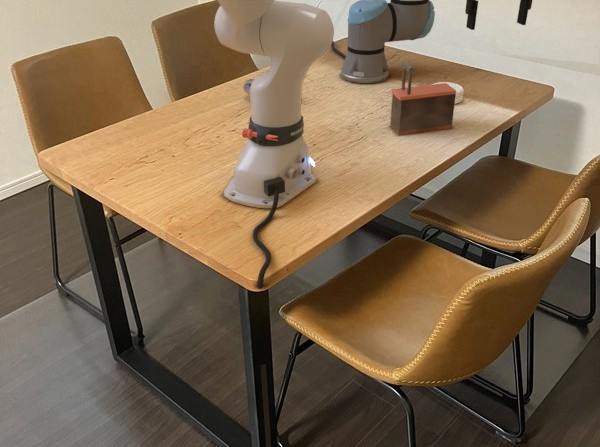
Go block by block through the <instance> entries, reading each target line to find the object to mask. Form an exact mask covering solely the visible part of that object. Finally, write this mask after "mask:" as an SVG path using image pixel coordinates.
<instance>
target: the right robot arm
mask: <svg viewBox="0 0 600 447" xmlns="http://www.w3.org/2000/svg"><path fill="white" fill-rule="evenodd" d="M532 6H533V0H520V1H519V7H518V13H517V18H516V24H519V25H521V26H526V25H527V19H528V13H529V11H530V10H531V9H532ZM478 7H479V0H466V3H465V11H464V12H465V15H467V18H466V28H467V29H468V30H471V31H475V29H476V24H477V22H476V21H477V15H478ZM434 9H435V6H434V3H433V2H432V1H431V0H390V1H389V2H388V1H387V0H357V1H355V2H353V3H352V4H351V5H350V7H349V8H348V17H347V52H346V54H344V53H343V52H341V51H340V50H338V49H337V48H336V47H335V41H334V40H333V42H332V45H331V49H332V50H333V51H334V52H335V53H336V54H337V55H339V56H340V57H342V58H343V59H344V61H343V64H342V66H341V72H340V76H341V78H342V79H343V80H345V81H347V82H350V83H354V84H355V83H356V84H363V85H364V84H367V85H368V84H378V83H381V82H384V81H387V80H388V78H389V76H390V74H389V73H390V70H389V66H388V62H387V58H386V54H385V45H386V43H393V42H401V41H403V42H404V41H414V40H418V39H423V38H426V36H427V35H428V34H430V33H431V31H432V28H433V26H434V23H435V17H436V16H435V14H436V12H435V10H434Z"/></svg>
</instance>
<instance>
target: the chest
mask: <svg viewBox="0 0 600 447" xmlns="http://www.w3.org/2000/svg"><path fill="white" fill-rule="evenodd" d="M391 94H392V93H391ZM455 96H456V94H450V95H442V96H433V97H425V98H416V99H408V100H399V99H398V98H397V97H396V96H395V95H393V94H392V95H391V112H390V125H389V127H390V128H391V129H392V130H393V131H394V132H395V133H396V134H397V135H398V136H403V135H411V134H419V133H420V134H421V133H426V132H427V133H428V132H433V131H434V132H435V131H440V130H441V131H442V130H447V129H448V130H450V129H452V128H453V119H454V111H455V105H456V104H455Z"/></svg>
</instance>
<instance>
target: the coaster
mask: <svg viewBox="0 0 600 447" xmlns="http://www.w3.org/2000/svg"><path fill="white" fill-rule="evenodd" d="M443 83H446V84H448V85H449V86H450V87H452V88H453V89H455V90H456V96H455V104H454V105H456V104H459V103H461V102H462V101H463V99H464V91H465V88H464V87H463V86H462V85H460V84H458V83H455V82H449V81H440V82H439V81H438V82H435V83H432V84H431V85H434V84H443Z"/></svg>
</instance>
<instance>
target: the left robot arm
mask: <svg viewBox="0 0 600 447" xmlns="http://www.w3.org/2000/svg"><path fill="white" fill-rule="evenodd" d="M216 2H217V3H218V4H219V5H220V6H218V8H217V11H216V13H215V16H214V21H213V23H214V24H213V25H214V26H213V28H214V32H215V36H216V38H217V40H218V42H219V44H221V46H223V47H225V48H228V49H231V50H233V51H236V52H239V53H242V54H248V55H255V56H261V57H268V58H270V68H269V70H266V71H263V72H261V73H260V74H258V75H257V76H256V77H255V78H253V79H254V80H253V82H252V84H251V86H250V95H249V101H250V102H249V103H250V117H249V123H248V126H247V128H245V127H244V128H243V129H242V131H241V137H242V138H244V139H247V140H246V142H245V144H244V146H243V148H242V151H241V153H240V154H239V157H238V159H237V161H236V163H235V166H234V167H233V168H234V169H233V177H232V178H231V180H230V181H229V183H228V184H227V186H226V187H225V188H224V190H223V196H224V198H225V199H228V200H229V201H231V202H233V203H237V204H239V205H244V206H248V207H252V208H258V209H270V210H269V213H268V215H267V216H266V218H265V219H264V220H263V221H261V223H259V224H258V225H257V226H255V228H254V229H253V232H252V239H253V241H254V243H255V244H256V245H257V246H258V247H259V249H260V250H261V251H263V253H264V256H265V261H264V263H263V265H262V266H261V269H260V271H259V272H258V277H257V285H256V286H257V287H256V288H257V289H258V290H262V289H263V287H264V279H265V275H266V272H267V271H268V268H269V267H270V265H271V261H272V256H271V252H270V250H269V249H268V247H267V246H266V245H265V244H264V243H263V242H262V241H261V240H260V238H259V233H260V231H261V229H263V228H264V227H266V225H268V224H269V223H270V222H271V220H272V219H273V217H274V215H275V213H276V211H277V209H278V208H280V207H283V205H285V204H286V203H288V202H289V201H292V199H294V198H295V197H296V196H298V195H299V194H301V193H303V192H304V191H305V190H307V189H308V188H309V187H311V186H313V185H314V184H316V182H317V176H316V175H315V174H314V173H312V167H311V165H312V166H313V167H316V162H315V161H314V160H313V158H311V154H310V147H309V145H308V144H307V142H306V140H305V138H304V133H305V132H304V131H305V130H304V127H305V121H304V116H303V115H302V97H303V96H302V95H303V85H304V82H305V79H306V75H307V74H308V73H309V70H310V69H311V68H312V66H313V65H315V63H317V62H318V61H319V60H321V59H322V58H323V57H324V56H326V55H327V53H328V52H329V51H330V49H331V48H332V42H333V41H334V36H335V29H334V23H333V20H332V18H331V16H330V15H329V13H328V12H327V11H326V10H324V9H321V8H319V7H317V6H313V5H311V4H307V3H304V2H303V3H302V2H292V1H284V0H216ZM260 374H261V375H260V376H261V387H262V388H261V391H262V406H263V416H264V417H263V422H264V432H265V433H264V434H265V435H264V436H265V447H272V442H271V426H270V409H269V395H268V392H269V391H268V378H267V377H268V376H267V364H266V363H264V364H260Z"/></svg>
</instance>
